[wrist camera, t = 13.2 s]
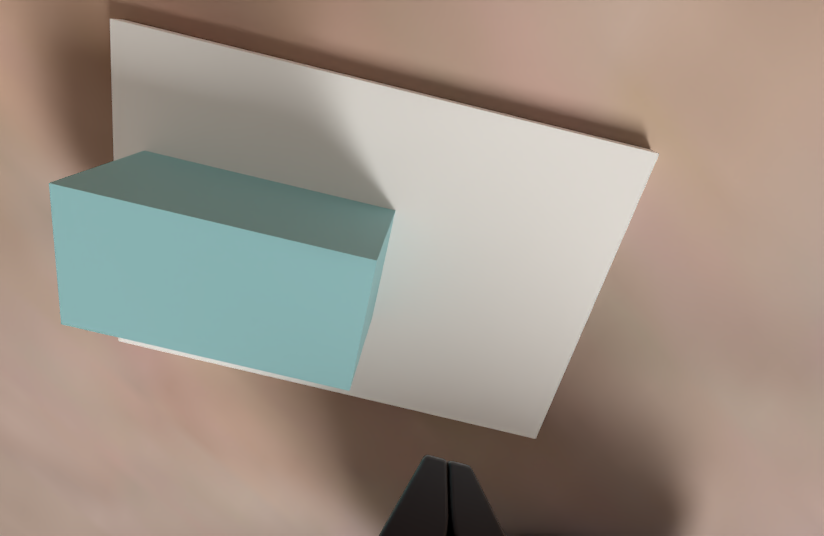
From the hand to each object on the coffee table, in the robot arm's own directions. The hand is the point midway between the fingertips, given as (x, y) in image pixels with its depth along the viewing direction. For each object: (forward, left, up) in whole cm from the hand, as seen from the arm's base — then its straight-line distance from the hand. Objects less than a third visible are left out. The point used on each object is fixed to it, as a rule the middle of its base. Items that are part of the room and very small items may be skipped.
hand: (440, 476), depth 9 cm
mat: (+3, 0, -9) cm, 9 cm away
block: (+2, 0, -6) cm, 7 cm away
